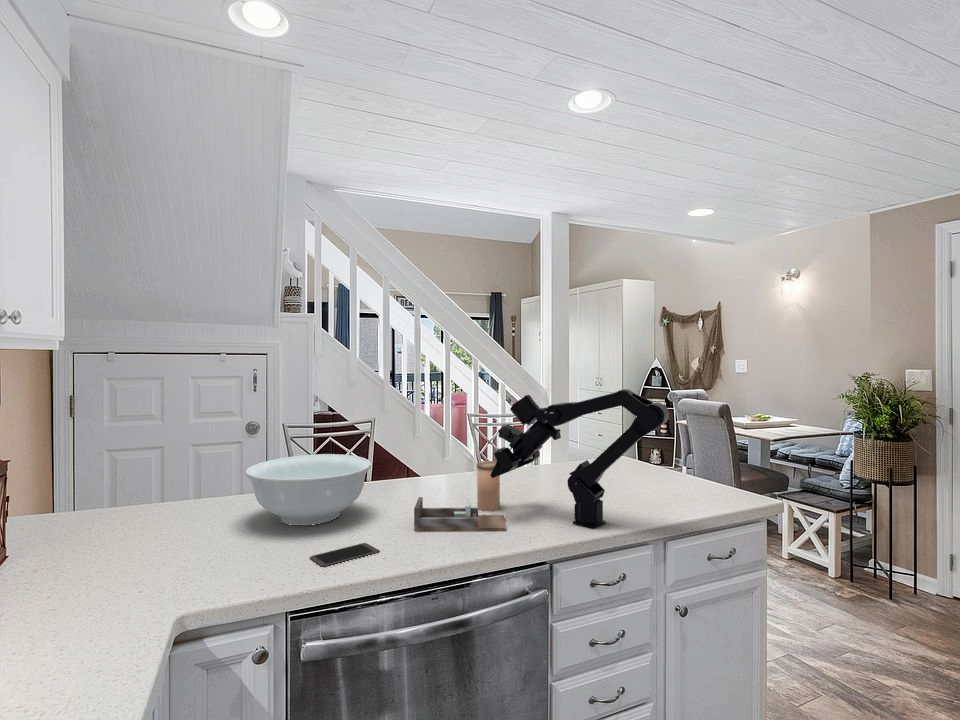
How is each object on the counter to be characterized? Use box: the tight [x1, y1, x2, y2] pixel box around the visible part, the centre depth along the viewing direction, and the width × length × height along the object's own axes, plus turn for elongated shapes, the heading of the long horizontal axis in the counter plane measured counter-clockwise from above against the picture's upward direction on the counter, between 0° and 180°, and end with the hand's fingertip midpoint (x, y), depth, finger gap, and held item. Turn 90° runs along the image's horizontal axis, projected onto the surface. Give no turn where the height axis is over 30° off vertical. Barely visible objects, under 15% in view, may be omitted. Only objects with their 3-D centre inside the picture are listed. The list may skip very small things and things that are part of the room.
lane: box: [413, 496, 507, 532], centre depth 141 cm, size 23×11×6 cm, turn 90°
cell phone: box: [309, 542, 381, 568], centre depth 120 cm, size 7×14×1 cm, turn 130°
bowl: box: [245, 453, 372, 526], centre depth 148 cm, size 32×32×15 cm
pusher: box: [454, 498, 472, 518], centre depth 141 cm, size 4×7×5 cm, turn 0°
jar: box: [476, 460, 501, 512], centre depth 156 cm, size 7×7×13 cm
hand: (499, 473), depth 154 cm, fingers open, 9 cm apart
